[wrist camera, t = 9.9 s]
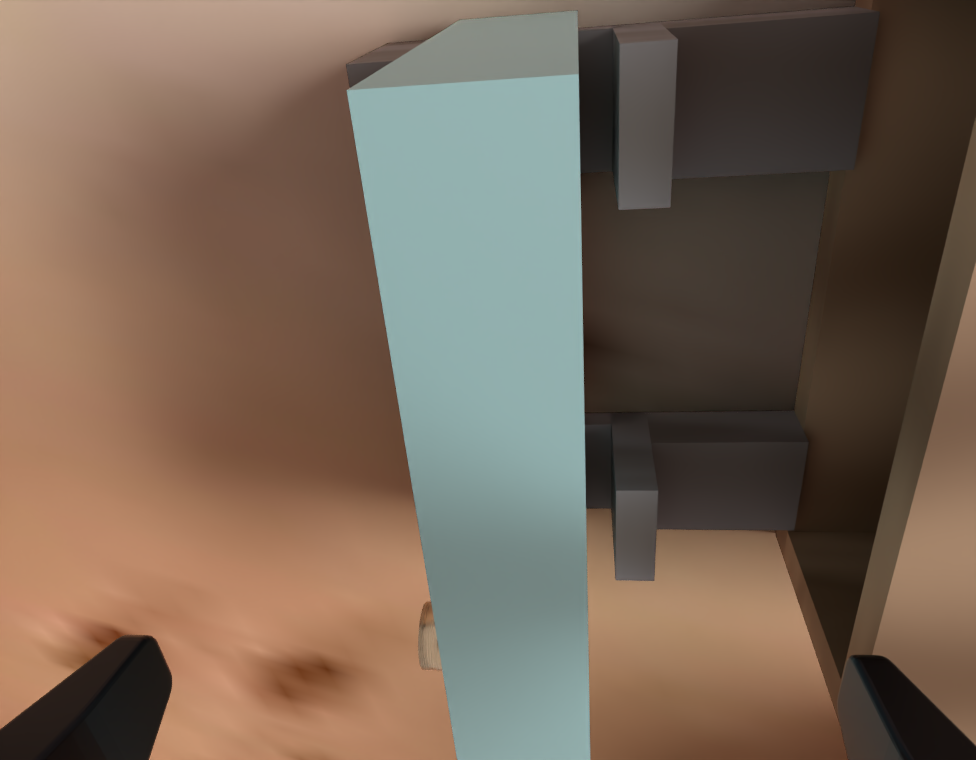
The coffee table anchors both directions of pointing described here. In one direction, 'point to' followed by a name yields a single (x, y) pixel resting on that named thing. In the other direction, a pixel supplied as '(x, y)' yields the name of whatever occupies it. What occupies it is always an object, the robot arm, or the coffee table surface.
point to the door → (489, 364)
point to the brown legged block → (817, 315)
